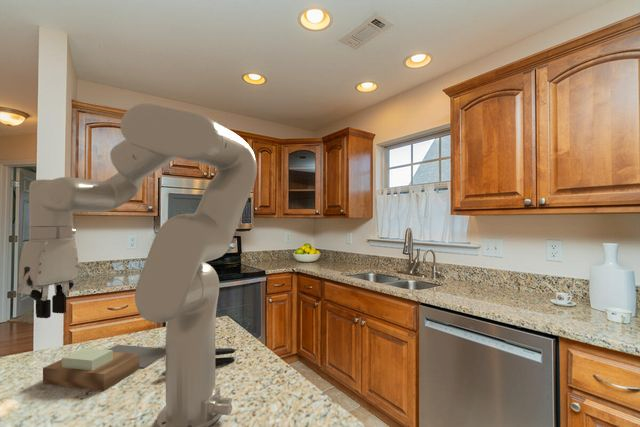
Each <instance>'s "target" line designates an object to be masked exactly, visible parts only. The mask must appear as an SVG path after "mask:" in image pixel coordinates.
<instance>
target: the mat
mask: <svg viewBox="0 0 640 427" xmlns="http://www.w3.org/2000/svg"><path fill="white" fill-rule="evenodd" d="M107 350H113V352H120V353H131V354H139V369H145V367H146V368H147V367H148V366H150V365H152V364H153V363H155V362H157V361H158V360H160V359H161V358H163V357H164V356H166V347H165V348H164V347H152V346H139V345H126V344H115V345H113V346H112V347H110V348H108V349H107Z"/></svg>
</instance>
